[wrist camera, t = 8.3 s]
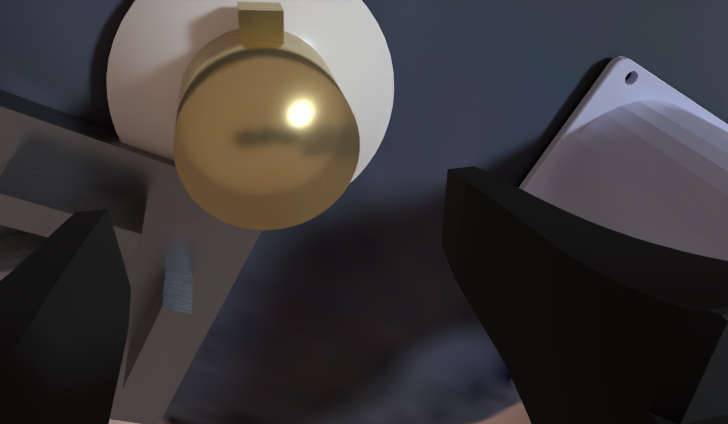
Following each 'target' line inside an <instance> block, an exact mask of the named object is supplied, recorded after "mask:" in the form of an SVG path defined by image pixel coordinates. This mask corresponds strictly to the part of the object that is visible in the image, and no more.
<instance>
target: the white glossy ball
mask: <svg viewBox="0 0 728 424" xmlns="http://www.w3.org/2000/svg"><path fill="white" fill-rule="evenodd" d="M237 2H272V3H280V4H281V6H282V8H283V10H284V31H285V32H288V33H291V34H293V35H295V36H297V37H299V38H300V39H302V40H303V41H305V42H306V43H308V44H309V45H310V46H311V47H312V48H313V49H315V50H316V51H317V53H318V54H319V55H320V56H321V57H322V58H323V60H324V62H325V63H326V65H327V66H328V68H329V70H330V71H331V73H332V75H333V77H334V79H335V81H336V82H337V84H338V86H339V88H340V90H341V91H342V93H343V95H344V97H345V99H346V100H347V102H348V104H349V106H350V108H351V110H352V112H353V114H354V116H355V119H356V122H357V125H358V129H359V136H360V153H359V160H358V164H357V167H356V171H355V173H354V175H353V177H352V180H351V182H352V181H353V180H354V179H355V178H356V177H357V176H358V175H359V174H360V173H361V172H362V170H363V169H364V168H365V167H366V166H367V165H368V163H369V162H370V160H371V159H372V157H373V156H374V154H375V153H376V151H377V149H378V147H379V145H380V143H381V141H382V139H383V137H384V135H385V132H386V129H387V126H388V124H389V120H390V116H391V111H392V107H393V96H394V74H393V67H392V62H391V56H390V53H389V49H388V46H387V43H386V40H385V37H384V35H383V33H382V31H381V29H380V27H379V25H378V23H377V21H376V20H375V18H374V16H373V15H372V13H371V12H370V10H369V9H368V7H367V6H366V5H365V4H364V3H363V1H362V0H134V2H133V3H132V5H131V6H130V8H129V10H128V11H127V13H126V14H125V16H124V18H123V20H122V22H121V24H120V27H119V29H118V31H117V33H116V36H115V38H114V40H113V44H112V48H111V51H110V55H109V59H108V68H107V77H106V80H107V99H108V104H109V109H110V115H111V118H112V121H113V124H114V127H115V130H116V133H117V135H118V137H119V139H120V141H121V142H122V143H125V144H128V145H131V146H133V147H136V148H139V149H142V150H145V151H148V152H150V153H153V154H156V155H159V156H162V157H165V158H167V159H170V160H173V161H174V152H173V143H174V134H175V125H176V117H177V109H178V100H179V92H180V85H181V82H182V78H183V75H184V73H185V71H186V68H187V67H188V65H189V63H190V62H191V60H192V59H193V57H194V56H195V55H196V54H197V53H198V51H199V50H200V49H201V48H203V47H204V46H205V45H206V44H207V43H209V42H210V41H211V40H213V39H214V38H216V37H218V36H220V35H222V34H224V33H226V32H229V31H232V30H235V29H238V10H237ZM351 182H350V183H351ZM350 183H349V184H350Z"/></svg>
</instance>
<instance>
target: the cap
mask: <svg viewBox="0 0 728 424" xmlns="http://www.w3.org/2000/svg"><path fill="white" fill-rule="evenodd" d="M237 10H238V29H235V30H232V31H229V32H226V33H224V34H222V35H220V36H218V37H216V38H214V39H213V40H211V41H210V42H209V43H207V44H206V45H205V46H204V47H203V48H201V49H200V50H199V51H198V53H197V54H196V55H195V56H194V57H193V59H192V60H191V62H190V63H189V65H188V67H187V68H186V71H185V73H184V75H183V78H182V82H181V85H180V92H179V100H178V109H177V117H176V125H175V134H174V143H173V152H174V161H175V166H176V170H177V173H178V175H179V178H180V180H181V182H182V184H183V186H184V188H185V189H186V191H187V192H188V193H189V195H190V196H191V198H192V199H193V200H194V201H195V202H196V203H197V204H198V205H199V206H200V207H201V208H203V209H204V210H205V211H206V212H208V213H209V214H211V215H212V216H214V217H216V218H217V219H219V220H222V221H224V222H226V223H228V224H231V225H234V226H237V227H242V228H246V229H253V230H276V229H284V228H288V227H292V226H296V225H298V224H301V223H304V222H306V221H308V220H310V219H312V218H314V217H316V216H318V215H319V214H321V213H322V212H324V211H325V210H326V209H328V208H329V207H330V206H331V205H333V204H334V203H335V201H336V200H337V199H338V198H339V197H340V196H341V195H342V194H343V192H344V191H345V190H346V188H347V187H348V185H349V183H350V182H351V180H352V177H353V175H354V173H355V171H356V167H357V164H358V160H359V153H360V136H359V129H358V125H357V122H356V119H355V116H354V114H353V112H352V110H351V108H350V106H349V104H348V102H347V100H346V99H345V97H344V95H343V93H342V91H341V90H340V88H339V86H338V84H337V82H336V81H335V79H334V77H333V75H332V73H331V71H330V70H329V68H328V66H327V65H326V63H325V62H324V60H323V58H322V57H321V56H320V55H319V54H318V53H317V51H316V50H315V49H313V48H312V47H311V46H310V45H309V44H308V43H306V42H305V41H303V40H302V39H300V38H299V37H297V36H295V35H293V34H291V33H288V32H285V31H284V10H283V8H282V6H281V4H280V3H272V2H237Z"/></svg>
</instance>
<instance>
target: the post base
mask: <svg viewBox="0 0 728 424" xmlns="http://www.w3.org/2000/svg"><path fill="white" fill-rule="evenodd" d="M101 209H108V210H109V214H110V217H111V221H112V224H113V228H114V231H115V234H116V238H117V241H118V245H119V248H120V252H121V255H122V258H123V262H124V265H125V269H126V272H127V276H128V279H129V283H130V286H131V297H130V315H129V329H128V334H127V339H126V344H125V349H124V354H123V359H122V364H121V368H120V373H119V377H118V382H117V387H116V391H115V396H114V400H113V405H112V410H111V414H110V419H113V420H120V421H127V422H133V423H140V424H159V422H160V420H161V419H162V417H163V415H164V413H165V411H166V409H167V407H168V405H169V404H170V402H171V400H172V398H173V396H174V394H175V392H176V391H177V389H178V387H179V385H180V383H181V381H182V379H183V377H184V376H185V374H186V372H187V370H188V368H189V366H190V364H191V363H192V361H193V359H194V357H195V355H196V353H197V351H198V349H199V348H200V346H201V344H202V342H203V340H204V338H205V336H206V335H207V333H208V331H209V329H210V327H211V325H212V323H213V321H214V320H215V318H216V316H217V314H218V312H219V310H220V308H221V307H222V305H223V303H224V301H225V299H226V297H227V295H228V293H229V292H230V290H231V288H232V286H233V284H234V282H235V280H236V279H237V277H238V275H239V273H240V271H241V269H242V267H243V265H244V264H245V262H246V260H247V258H248V256H249V254H250V252H251V250H252V249H253V247H254V245H255V243H256V241H257V239H258V237H259V236H260V234H261V232H262V230H253V229H246V228H242V227H237V226H234V225H231V224H228V223H226V222H224V221H222V220H219V219H217V218H216V217H214V216H212V215H211V214H209V213H208V212H206V211H205V210H204V209H203V208H201V207H200V206H199V205H198V204H197V203H196V202H195V201H194V200H193V199H192V198H191V196H190V195H189V193H188V192H187V191H186V189H185V188H184V186H183V184H182V182H181V180H180V178H179V175H178V173H177V170H176V166H175V161H173V160H170V159H167V158H165V157H162V156H159V155H156V154H153V153H150V152H148V151H145V150H142V149H139V148H136V147H133V146H131V145H128V144H125V143H122V142H121V141H120V139H119V137H118V135H117V133H116V131H113V130H110V129H107V128H105V127H102V126H99V125H96V124H93V123H91V122H88V121H85V120H82V119H80V118H77V117H74V116H71V115H68V114H66V113H63V112H60V111H57V110H55V109H52V108H49V107H46V106H43V105H41V104H38V103H35V102H32V101H29V100H27V99H24V98H21V97H18V96H16V95H13V94H10V93H7V92H4V91H2V90H0V281H1V280H2V279H3V278H4V277H5V276H7V275H8V274H9V273H10V272H11V271H13V270H14V269H15V268H16V267H17V266H18V265H19V264H20V263H21V262H22V261H23V260H25V259H26V258H27V257H28V256H29V255H30V254H31V253H32V252H33V251H34V250H35V249H36V248H37V247H39V246H40V245H41V244H42V243H43V242H44V241H45V240H46V239H47V238H48V237H49V236H50V235H51V234H52V233H53V232H54V231H55V230H56V229H58V228H59V227H60V226H61V225H62V224H63V223H64V222H65V221H66V220H67V219H68V218H70V217H71V216H72V215H73V214H74V213H76V212H83V211H92V210H101Z"/></svg>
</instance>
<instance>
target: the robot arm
mask: <svg viewBox="0 0 728 424" xmlns="http://www.w3.org/2000/svg"><path fill="white" fill-rule="evenodd" d="M630 72H631V76H630V78H628V79H627V80H626V81H625V78H626V76H627V74H628V73H630ZM441 244H442V247H443V249H444V252H445V254H446V257H447V260H448V262H449V265H450V267H451V269H452V272H453V274H454V277H455V279H456V281H457V282H458V284H459V286H460V288H461V290H462V291H463V293H464V295H465V296H466V298H467V300H468V302H469V303H470V305H471V307H472V308H473V310H474V312H475V314H476V315H477V317H478V319H479V320H480V322H481V324H482V325H483V327H484V329H485V330H486V332H487V334H488V335H489V337H490V339H491V340H492V342H493V344H494V346H495V347H496V349H497V351H498V352H499V354H500V356H501V358H502V360H503V362H504V363H505V365H506V367H507V369H508V371H509V373H510V376H511V378H512V380H513V382H514V384H515V387H516V389H517V391H518V393H519V396H520V398H521V400H522V402H523V405H524V407H525V409H526V412H527V414H528V416H529V419H530V421H531V424H728V124H726V123H725V122H723V121H722V120H720V119H719V118H717V117H716V116H714V115H713V114H711V113H710V112H708V111H707V110H705V109H704V108H702V107H701V106H699V105H698V104H696V103H695V102H693V101H692V100H690V99H689V98H687V97H686V96H684V95H683V94H681V93H680V92H678V91H677V90H675V89H674V88H672V87H671V86H669V85H668V84H666V83H665V82H663V81H662V80H660V79H659V78H657V77H656V76H654V75H653V74H651V73H650V72H648V71H647V70H645V69H644V68H642V67H641V66H639V65H638V64H636V63H635V62H633V61H632V60H630V59H628V58H626V57H623V56H619V57H616V58H614V59H612V60H611V61H610V62H609V63H608V65H607V66H606V67H605V69H604V70H603V72H602V73H601V74H600V76H599V77H598V79H597V80H596V81H595V83H594V84H593V85H592V87H591V88H590V90H589V91H588V92H587V94H586V95H585V96H584V98H583V99H582V101H581V102H580V103H579V105H578V106H577V108H576V109H575V110H574V112H573V113H572V114H571V116H570V117H569V119H568V120H567V121H566V123H565V124H564V125H563V127H562V128H561V130H560V131H559V132H558V134H557V135H556V136H555V138H554V139H553V141H552V142H551V143H550V145H549V146H548V148H547V149H546V150H545V152H544V153H543V154H542V156H541V157H540V159H539V160H538V161H537V163H536V164H535V165H534V167H533V168H532V170H531V171H530V172H529V174H528V175H527V177H526V178H525V179H524V181H523V182H522V183H521V185H520V186H519V188H518V187H516V186H514V185H512V184H510V183H508V182H506V181H504V180H502V179H500V178H498V177H496V176H494V175H492V174H490V173H488V172H486V171H484V170H482V169H479V168H477V167H474V166H472V167H464V168H455V169H448V174H447V185H446V197H445V209H444V220H443V232H442V243H441ZM130 297H131V286H130V283H129V279H128V276H127V272H126V269H125V265H124V262H123V258H122V255H121V252H120V248H119V245H118V241H117V238H116V234H115V231H114V228H113V224H112V221H111V217H110V214H109V210H108V209H101V210H92V211H83V212H76V213H74V214H73V215H72V216H71V217H70V218H68V219H67V220H66V221H65V222H64V223H63V224H62V225H61V226H60V227H59V228H58V229H56V230H55V231H54V232H53V233H52V234H51V235H50V236H49V237H48V238H47V239H46V240H45V241H44V242H43V243H42V244H41V245H40V246H39V247H37V248H36V249H35V250H34V251H33V252H32V253H31V254H30V255H29V256H28V257H27V258H26V259H25V260H23V261H22V262H21V263H20V264H19V265H18V266H17V267H16V268H15V269H14V270H13V271H11V272H10V273H9V274H8V275H7V276H5V277H4V278H3V279H2V280H1V281H0V424H109V419H110V414H111V410H112V405H113V400H114V396H115V391H116V387H117V382H118V377H119V373H120V368H121V364H122V359H123V354H124V349H125V344H126V339H127V334H128V329H129V315H130Z"/></svg>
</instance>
